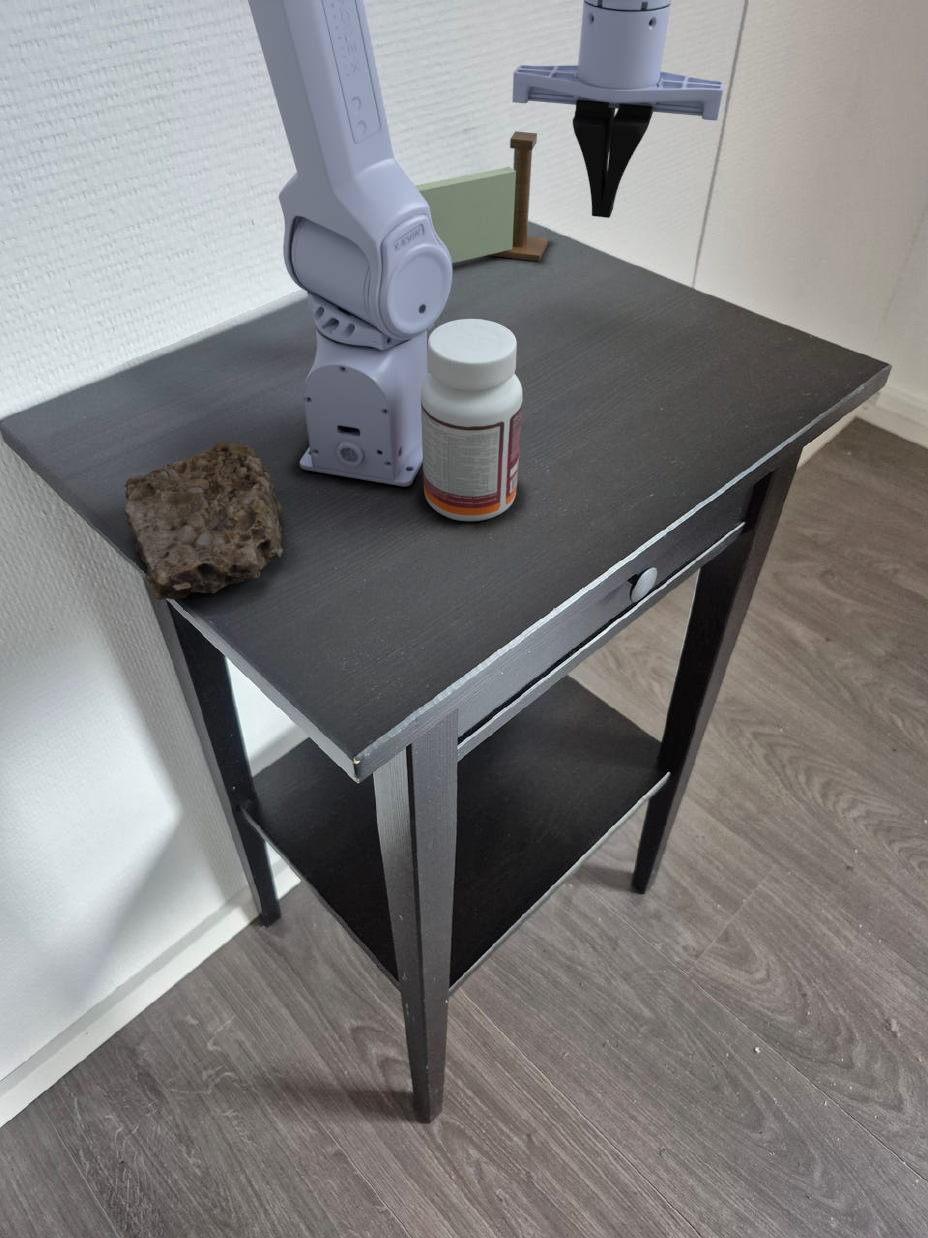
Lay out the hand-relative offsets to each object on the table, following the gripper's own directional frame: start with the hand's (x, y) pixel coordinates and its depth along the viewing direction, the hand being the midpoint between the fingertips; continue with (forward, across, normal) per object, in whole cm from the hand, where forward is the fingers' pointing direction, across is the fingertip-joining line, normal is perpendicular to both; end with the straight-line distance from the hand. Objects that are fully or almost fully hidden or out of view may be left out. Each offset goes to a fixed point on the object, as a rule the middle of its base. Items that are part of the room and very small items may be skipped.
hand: (602, 211), depth 68 cm
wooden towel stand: (+9, +9, -13) cm, 18 cm away
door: (+9, +14, -7) cm, 18 cm away
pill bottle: (+10, +4, +25) cm, 27 cm away
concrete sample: (+5, +18, +34) cm, 39 cm away
